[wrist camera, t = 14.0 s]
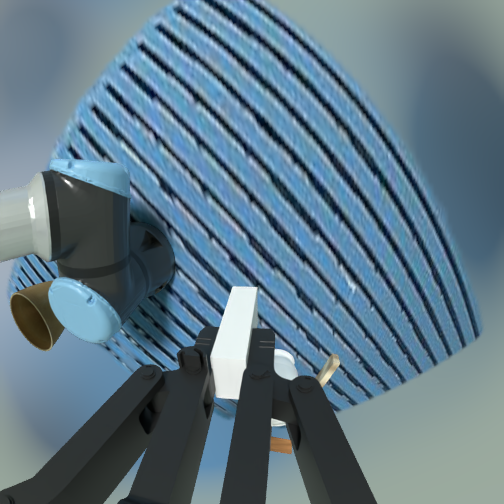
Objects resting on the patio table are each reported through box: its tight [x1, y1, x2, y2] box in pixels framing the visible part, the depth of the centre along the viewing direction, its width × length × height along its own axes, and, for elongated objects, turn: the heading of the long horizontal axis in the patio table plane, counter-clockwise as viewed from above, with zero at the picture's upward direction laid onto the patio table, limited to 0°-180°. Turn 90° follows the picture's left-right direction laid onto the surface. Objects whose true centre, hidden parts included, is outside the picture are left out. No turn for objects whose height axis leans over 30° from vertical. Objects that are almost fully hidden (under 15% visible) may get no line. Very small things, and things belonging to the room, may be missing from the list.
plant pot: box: [10, 280, 65, 351], centre depth 51 cm, size 15×15×16 cm
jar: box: [271, 349, 298, 426], centre depth 52 cm, size 11×10×15 cm
